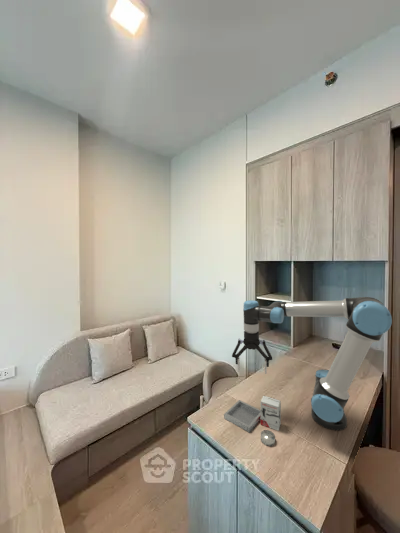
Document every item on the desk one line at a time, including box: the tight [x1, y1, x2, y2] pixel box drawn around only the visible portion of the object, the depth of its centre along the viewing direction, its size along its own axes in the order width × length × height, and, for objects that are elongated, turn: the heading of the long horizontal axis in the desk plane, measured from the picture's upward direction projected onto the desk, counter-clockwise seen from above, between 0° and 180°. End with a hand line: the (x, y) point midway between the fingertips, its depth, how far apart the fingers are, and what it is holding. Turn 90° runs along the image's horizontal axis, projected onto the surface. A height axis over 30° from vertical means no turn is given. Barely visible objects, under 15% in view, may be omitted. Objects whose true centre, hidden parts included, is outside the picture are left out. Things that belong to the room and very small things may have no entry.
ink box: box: [260, 395, 282, 431], centre depth 106 cm, size 8×5×12 cm, turn 60°
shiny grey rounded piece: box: [260, 429, 276, 447], centre depth 97 cm, size 6×6×2 cm
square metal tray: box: [223, 399, 261, 434], centre depth 111 cm, size 14×14×2 cm
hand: (252, 371), depth 116 cm, fingers open, 13 cm apart
